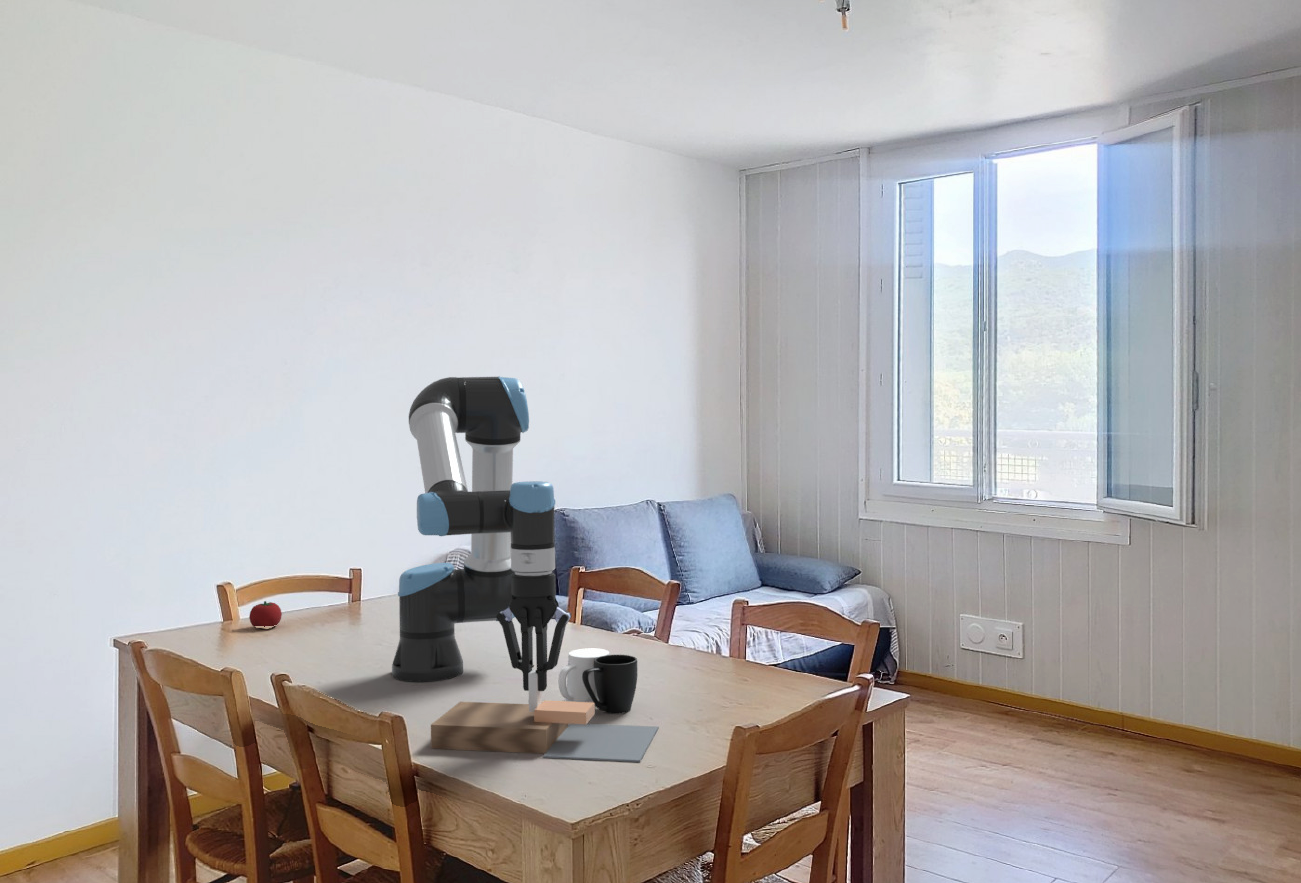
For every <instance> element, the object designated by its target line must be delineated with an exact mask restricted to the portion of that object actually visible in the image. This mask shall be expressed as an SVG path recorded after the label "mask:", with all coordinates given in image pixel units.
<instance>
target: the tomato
mask: <svg viewBox="0 0 1301 883" xmlns="http://www.w3.org/2000/svg"><path fill="white" fill-rule="evenodd" d="M282 616H283V614H282V609H281V607H280V606H279V605H278V604H276V603H275V602H267V601H266V600H265V601H263V603H258V604H255V605H254V606H253V607H252V608H251V610H250V612H249V617H248V618H249V622H250V623H251V625H252V627H254V626H264V627H265V626H274V625H277V624H278V623H279V624H280V621H281V620H282ZM279 624H278V625H279ZM278 625H277V626H278Z"/></svg>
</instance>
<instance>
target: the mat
mask: <svg viewBox="0 0 1301 883" xmlns="http://www.w3.org/2000/svg"><path fill="white" fill-rule="evenodd" d="M659 729H660V728H659V726H655V725H654V726H651V725H632V724H631V725H629V724H607V723H606V724H605V723H603V724H602V723H587V724H568V727H567V728H566V729H565V730H564V732H563V733H562V734H561V735H560V736H559V738H558V739H557V740H556V741H555V742H554V744H553V745H552V746H551V747H550V748H549V750H548V751H547V752H546V753H545V754H543V756H542V758H543V759H544V758H545V759H561V760H562V759H563V760H565V759H566V760H584V761H585V760H586V761H587V760H588V761H609V762H628V763H629V762H630V763H631V762H633V763H641V761H642V760H643V757H644V756H645V754H646V752H647V750H648V749H649V746H650V745H651V743H652V741H653V739H654V737H655V736H656V734H657V732H658V730H659Z"/></svg>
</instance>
